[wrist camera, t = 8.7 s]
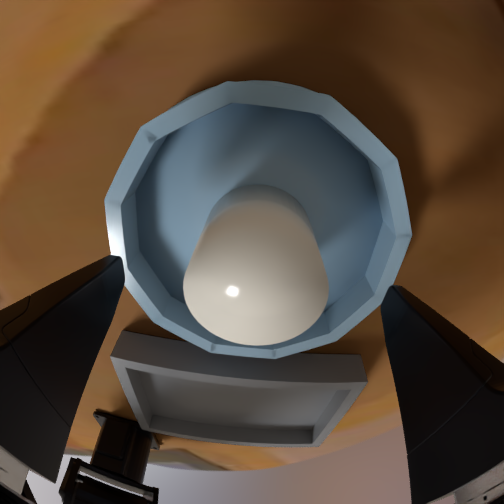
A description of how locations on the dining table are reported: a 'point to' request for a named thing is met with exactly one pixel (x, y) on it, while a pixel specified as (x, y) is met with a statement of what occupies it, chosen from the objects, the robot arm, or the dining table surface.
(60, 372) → the robot arm
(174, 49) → the dining table surface
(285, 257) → the white marshmallow
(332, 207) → the blue ring
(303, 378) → the parts tray
